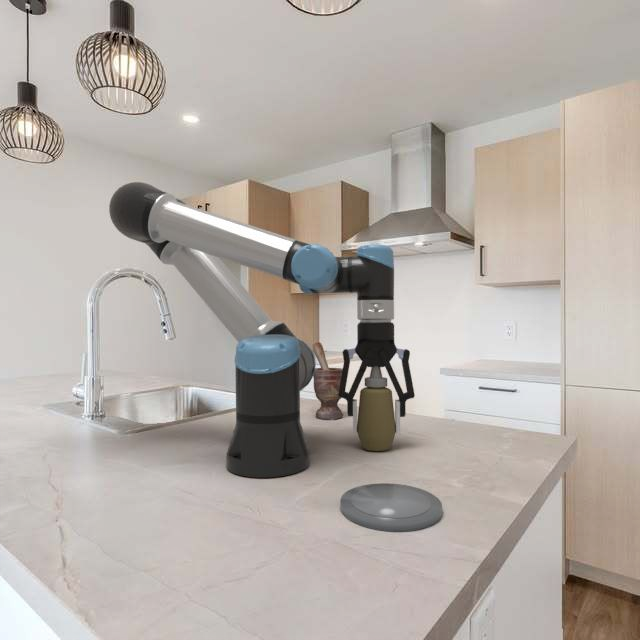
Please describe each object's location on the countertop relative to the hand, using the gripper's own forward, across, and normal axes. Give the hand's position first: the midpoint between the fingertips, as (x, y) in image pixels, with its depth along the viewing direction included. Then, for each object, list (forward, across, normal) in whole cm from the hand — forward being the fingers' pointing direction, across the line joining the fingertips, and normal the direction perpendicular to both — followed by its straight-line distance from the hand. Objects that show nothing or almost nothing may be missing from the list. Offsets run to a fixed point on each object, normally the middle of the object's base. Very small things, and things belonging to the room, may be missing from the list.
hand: (376, 432), depth 94 cm
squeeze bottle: (+3, 0, 0) cm, 3 cm away
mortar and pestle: (+4, -13, +30) cm, 33 cm away
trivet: (+3, +1, -30) cm, 30 cm away
